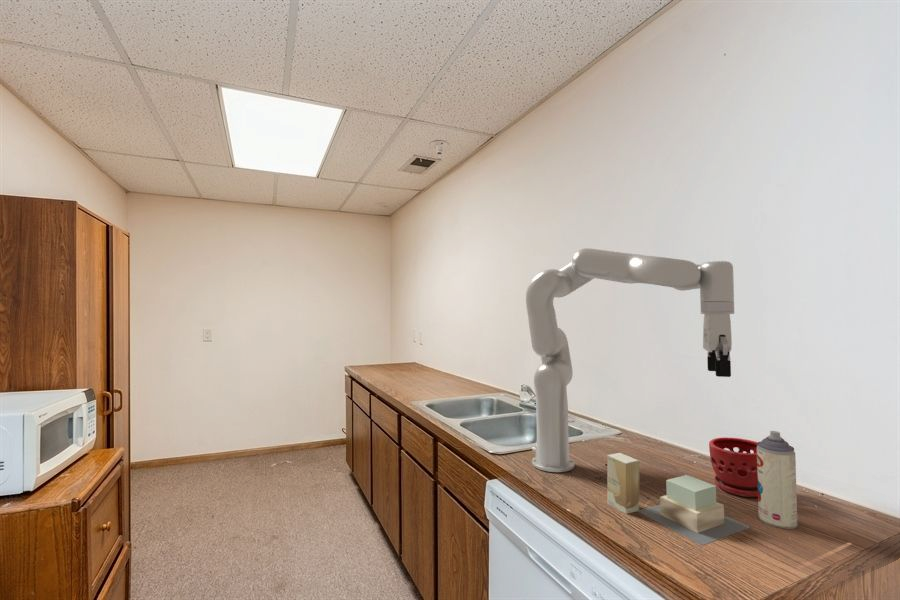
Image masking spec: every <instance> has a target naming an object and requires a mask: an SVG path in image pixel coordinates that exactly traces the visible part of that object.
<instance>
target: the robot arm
mask: <svg viewBox="0 0 900 600" xmlns="http://www.w3.org/2000/svg"><path fill="white" fill-rule="evenodd" d="M571 259H572V260H571V262H569V263H568V264H567V265H565V266H563V267H562V268H560V269H554V268H550V269H546V270H543V271H541V272H539V273H537V275H535V276H534V277H532V280H531V281H530V283H529V284H528V286H527V289H526V292H525V293H526V294H525V304H526V310H527V318H528V320H527V321H528V325H529V326H528V327H529V332H530V333H529V335H530V341H531V342H530V343H531V346H532V347H531V348H532V349H533V352H534V353H535V354H536V355H537V356H539V357H540V358H541V364H540V365H539V366H538V367H537V369H536V370H535V373H534V376H533V385H534V386H533V387H534V393H535V411H536V412H535V414H536V444H535V446H532V448H531V450H532V451H533V452H534V453H535V456H534V457H533V458H532V459H531V465H532V466H533V467H534V468H536V469H537V470H540V471H544V472H550V473H566V472H569V471H571V470H573V469H574V468H575V461H574V460H573V459H571V458H570V451H569V450H570V447H569V446H570V445H569V443H570V442H569V404H568V393H567V386H568V385H569V384H570V383H571V381H572V378H573V366H572V359H571V353H570V347H569V341H568V338H567V335H566V333H565V332H564V330H562V329H561V328H560V327H558V323H557V321H558V320H557V315H556V310H555V306H554V298H559V299H560V298H564V297H566V296H568V295H571V294H572V293H573V292H575V291H576V290H578V289H579V288H582V287H583V286H585V285H586V284H588V283H589V282H591V281H592V280H594V279H598V280H603V281H609V282H617V283H622V284H647V285H654V286H660V287H661V286H662V287H668V288H672V289H674V290H677V291H690V290H699V295H700V296H699V297H700V298H699V299H700V300H699V301H700V303H699V304H700V314H701V315H703V323H702V324H703V327H702V328H703V330H702V331H703V332H702V333H703V334H702V336H703V337H702V348H703V349H704V350H705V351H707V359H706V361H707V371H709V372H715V376H716V377H720V378H721V377H722V378H730V377H731V376H732V368H731V367H732V366H731V363H732V361H731V355H730V354H731V353H730V352H731V351H732V343H733V342H732V325H731V324H732V323H731V315H734V314H735V298H734V297H735V292H734V291H735V290H734V288H735V285H734V265H733V264H732V263H731V262H730V261H726V260H717V261H714V260H713V261H706V262H703V263H702V264H696V263H695V262H693V261H690V260H686V259H679V258H671V257H665V256H656V255H655V256H654V255H645V254H639V253H638V254H636V253H627V252H622V251H621V252H620V251H613V250H612V251H611V250H604V249H596V248H588V247H587V248H582V249H579V250H577V251H576V252H575V253H574V255H573V257H572V258H571Z"/></svg>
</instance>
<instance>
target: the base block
mask: <svg viewBox="0 0 900 600" xmlns="http://www.w3.org/2000/svg"><path fill="white" fill-rule="evenodd" d="M659 504H660V515H662V516H664V517H666V518H668V519H670V520H672V521H674V522H676V523H678V524H680V525H682V526H684V527H686V528H688V529H690V530H692V531H694V532H696V533H699V532H702V531H704V530H707V529H710V528H713V527H716V526H718V525H721V524H724V516H725V505H724V504H722V503H721V502H717V501H716V504H715V505H712V506H709V507H706V508H703V509H700V510H696V511H695V510H693V509H691V508H688V507H686V506H684V505H682V504H679V503H677V502H675V501H673V500H670V499H668V498H667V494H665V495H662V496H659Z"/></svg>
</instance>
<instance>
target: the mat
mask: <svg viewBox="0 0 900 600" xmlns="http://www.w3.org/2000/svg"><path fill="white" fill-rule="evenodd" d="M636 512H637V513H639V514H641V515H643V516H644V517H647V518H649V519H650V520H652V521H654V522H656V523H659V524H661V525H662V526H664V527H666V528H668V529H670V530H672V531H673V532H675V533H677V534H679V535H682V536H683V537H685V538H687V539H689V540H691V541H692V542H695V543H696V544H699V545H700V546H705V545H708V544H711V543H714V542H716V541H718V540H721V539H723V538H726V537H729V536H732V535H733V534H736V533H740V532H742V531H745V530H748V529H750V528H751V526H749V525H747V524H745V523H742V522H740V521H738V520H736V519H733V518H731V517H729V516H726V515H724V524H721V525H718V526H716V527H713V528H710V529H707V530H704V531H702V532H699V533H696V532H694V531H692V530H690V529H688V528H686V527H684V526H682V525H680V524H678V523H676V522H674V521H672V520H670V519H668V518H666V517H664V516H662V515H660V503H659V504H656V505H653V506H650V507H646V508H643V509H639V511H636Z"/></svg>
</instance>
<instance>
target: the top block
mask: <svg viewBox="0 0 900 600" xmlns="http://www.w3.org/2000/svg"><path fill="white" fill-rule="evenodd" d="M665 484H666V485H665V486H666V487H665V488H666V492H665V493H666V495H667V498H668V499H670V500H673V501H675V502H677V503H679V504H682V505H684V506H686V507H688V508H691V509H693V510H695V511H696V510H700V509H703V508H706V507H709V506H712V505H715V504H716V502H717V485H716V484H715V485H714V484H712V483H709V482H707V481H704V480H702V479H698V478H696V477H694V476H691V475H689V474H685V475H681V476H678V477H673V478H668V479H667V480H665Z"/></svg>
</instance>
